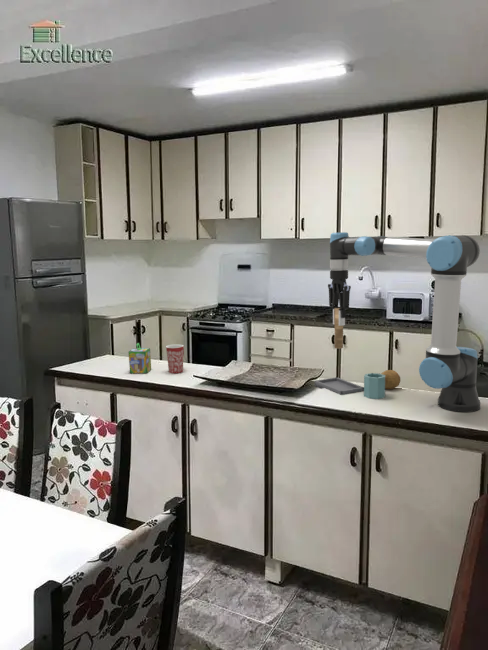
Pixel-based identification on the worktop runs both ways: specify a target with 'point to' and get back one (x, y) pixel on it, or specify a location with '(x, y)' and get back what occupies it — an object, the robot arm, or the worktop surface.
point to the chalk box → (139, 360)
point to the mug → (175, 358)
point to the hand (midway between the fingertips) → (338, 324)
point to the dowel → (338, 331)
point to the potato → (391, 379)
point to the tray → (338, 386)
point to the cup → (374, 385)
